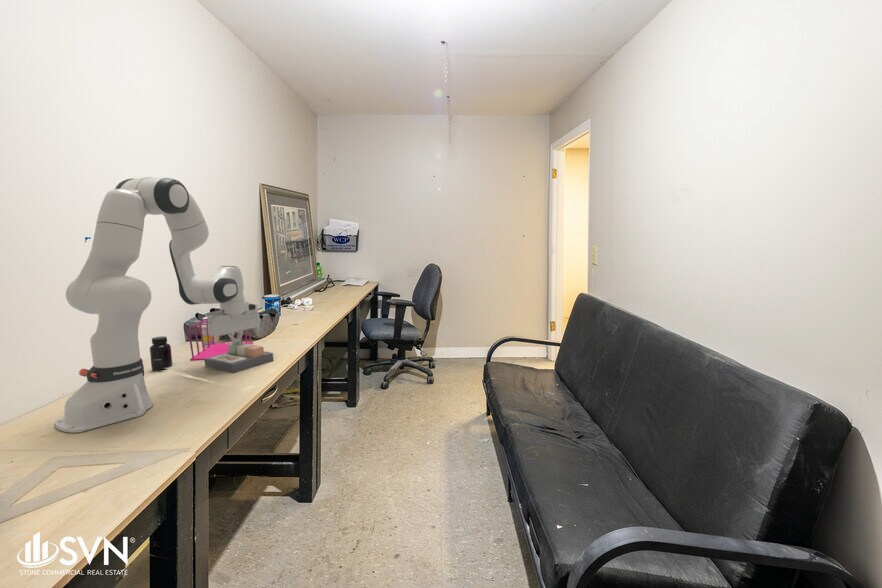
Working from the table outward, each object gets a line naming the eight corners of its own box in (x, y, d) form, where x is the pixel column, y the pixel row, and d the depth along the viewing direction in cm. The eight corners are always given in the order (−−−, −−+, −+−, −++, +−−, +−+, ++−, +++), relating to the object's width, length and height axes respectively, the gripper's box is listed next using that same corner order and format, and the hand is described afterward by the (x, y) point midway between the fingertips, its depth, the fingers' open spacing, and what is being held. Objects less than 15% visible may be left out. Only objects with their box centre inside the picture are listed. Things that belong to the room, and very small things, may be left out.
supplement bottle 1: (153, 372, 170) (150, 340, 169) (150, 369, 176) (146, 337, 174) (175, 368, 175) (171, 337, 173) (170, 365, 180) (167, 334, 178)
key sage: (235, 356, 177) (234, 346, 177) (228, 354, 180) (227, 344, 179) (245, 353, 181) (244, 343, 181) (238, 352, 184) (237, 342, 183)
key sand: (244, 358, 175) (243, 347, 174) (237, 356, 177) (236, 346, 176) (254, 355, 178) (254, 344, 178) (247, 353, 181) (246, 343, 180)
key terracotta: (254, 359, 172) (253, 349, 171) (246, 358, 174) (245, 347, 173) (264, 356, 175) (263, 346, 175) (256, 355, 178) (255, 345, 177)
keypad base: (233, 375, 164) (232, 363, 163) (205, 369, 173) (204, 357, 172) (273, 363, 178) (272, 351, 178) (245, 357, 187) (244, 346, 186)
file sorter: (189, 363, 182) (185, 324, 179) (212, 347, 206) (209, 312, 204) (236, 360, 184) (232, 321, 181) (253, 345, 208) (250, 310, 206)
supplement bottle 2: (214, 342, 214) (212, 315, 212) (222, 344, 210) (219, 316, 209) (200, 346, 209) (197, 318, 207) (208, 348, 205) (205, 319, 203)
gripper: (212, 313, 168) (216, 350, 170) (260, 304, 185) (264, 338, 187) (202, 312, 171) (206, 348, 173) (250, 303, 188) (254, 336, 190)
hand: (236, 343), depth 180 cm, fingers closed
